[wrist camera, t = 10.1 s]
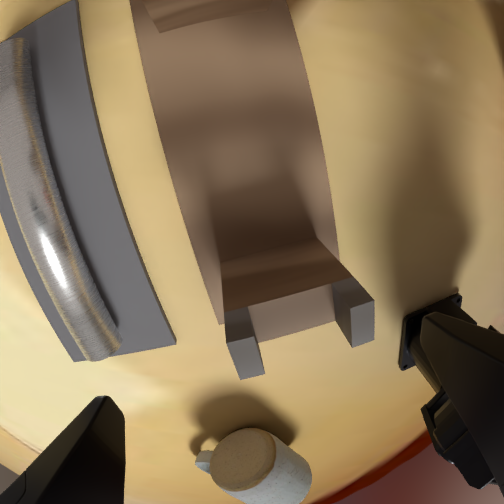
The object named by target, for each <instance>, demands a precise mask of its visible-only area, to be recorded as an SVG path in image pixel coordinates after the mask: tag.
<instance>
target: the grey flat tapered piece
mask: <svg viewBox="0 0 504 504" xmlns="http://www.w3.org/2000/svg"><path fill="white" fill-rule="evenodd" d="M13 38H25V39H27V40H28V41H29V47H30V58H31V67H32V75H33V82H34V89H35V95H36V101H37V106H38V111H39V116H40V121H41V126H42V131H43V135H44V139H45V143H46V147H47V151H48V155H49V159H50V163H51V166H52V170H53V173H54V177H55V180H56V183H57V186H58V190H59V193H60V196H61V199H62V202H63V205H64V208H65V211H66V214H67V216H68V219H69V222H70V225H71V227H72V230H73V233H74V235H75V238H76V240H77V243H78V245H79V248H80V250H81V253H82V255H83V258H84V260H85V262H86V265H87V267H88V269H89V272H90V274H91V276H92V278H93V281H94V283H95V285H96V287H97V289H98V291H99V293H100V295H101V298H102V300H103V302H104V304H105V306H106V308H107V310H108V312H109V314H110V316H111V318H112V319H113V321H114V323H115V325H116V327H117V329H118V331H119V333H120V334H121V336H122V344H121V346H120V347H119V349H118V350H117V351H116V352H115V353H114V354H112V355H111V356H117V355H123V354H129V353H134V352H140V351H145V350H151V349H156V348H161V347H166V346H171V345H176V341H177V340H176V338H175V335H174V333H173V331H172V329H171V327H170V325H169V322H168V320H167V318H166V316H165V313H164V311H163V309H162V307H161V304H160V302H159V300H158V297H157V295H156V292H155V290H154V288H153V285H152V283H151V280H150V278H149V275H148V273H147V270H146V268H145V265H144V263H143V260H142V258H141V255H140V252H139V250H138V247H137V244H136V242H135V239H134V236H133V233H132V231H131V228H130V225H129V222H128V219H127V216H126V213H125V210H124V207H123V204H122V201H121V198H120V195H119V192H118V189H117V185H116V182H115V179H114V176H113V172H112V169H111V166H110V162H109V159H108V155H107V151H106V148H105V144H104V140H103V136H102V132H101V129H100V125H99V120H98V116H97V112H96V108H95V103H94V99H93V94H92V89H91V84H90V79H89V74H88V69H87V63H86V58H85V51H84V45H83V38H82V31H81V24H80V15H79V6H78V1H77V0H71V1H69V2H67V3H65V4H63V5H62V6H60V7H58V8H56V9H54V10H52V11H51V12H49V13H47V14H45V15H44V16H42V17H40V18H39V19H37V20H35V21H34V22H32V23H31V24H29V25H27V26H26V27H24V28H23V29H21V30H20V31H18V32H17V33H15V34H14V35H13V36H11V37H10V38H8V39H7V40H9V39H13ZM0 213H1V216H2V219H3V222H4V225H5V228H6V230H7V233H8V236H9V238H10V241H11V243H12V246H13V248H14V251H15V253H16V256H17V258H18V260H19V263H20V265H21V267H22V269H23V272H24V274H25V276H26V278H27V280H28V282H29V284H30V286H31V288H32V291H33V293H34V295H35V296H36V298H37V300H38V302H39V304H40V306H41V308H42V310H43V312H44V313H45V315H46V317H47V319H48V321H49V322H50V324H51V326H52V328H53V329H54V331H55V333H56V334H57V336H58V338H59V339H60V341H61V343H62V344H63V346H64V347H65V349H66V351H67V352H68V354H69V355H70V357H71V358H72V360H73V361H74V362H78V361H85V360H87V359H86V358H85V356H84V355H83V353H82V352H81V350H80V348H79V347H78V345H77V344H76V342H75V340H74V339H73V337H72V335H71V334H70V332H69V330H68V329H67V327H66V325H65V323H64V321H63V320H62V318H61V316H60V314H59V312H58V311H57V309H56V307H55V305H54V303H53V301H52V299H51V297H50V295H49V293H48V291H47V289H46V287H45V285H44V283H43V281H42V279H41V277H40V275H39V272H38V270H37V268H36V266H35V263H34V261H33V259H32V257H31V254H30V252H29V249H28V247H27V244H26V242H25V239H24V237H23V234H22V232H21V229H20V226H19V223H18V221H17V218H16V215H15V212H14V209H13V206H12V203H11V200H10V197H9V193H8V190H7V187H6V183H5V180H4V176H3V172H2V168H1V164H0ZM111 356H109V357H111Z"/></svg>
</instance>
